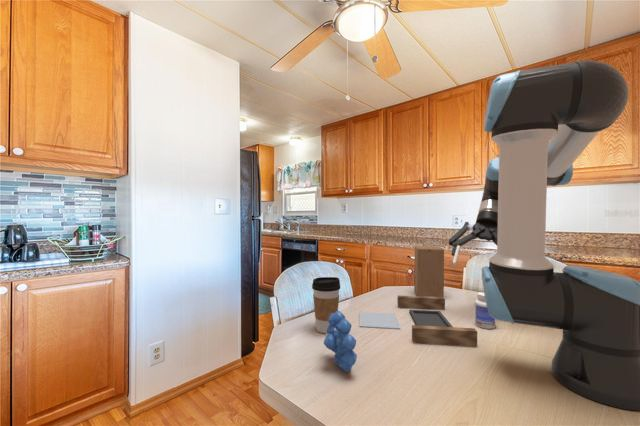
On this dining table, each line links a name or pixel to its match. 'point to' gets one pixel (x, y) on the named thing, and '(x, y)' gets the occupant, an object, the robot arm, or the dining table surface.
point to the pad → (378, 320)
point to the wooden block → (429, 271)
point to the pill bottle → (483, 313)
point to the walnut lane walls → (436, 333)
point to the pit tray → (429, 318)
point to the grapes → (341, 341)
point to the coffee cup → (325, 300)
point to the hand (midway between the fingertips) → (477, 270)
